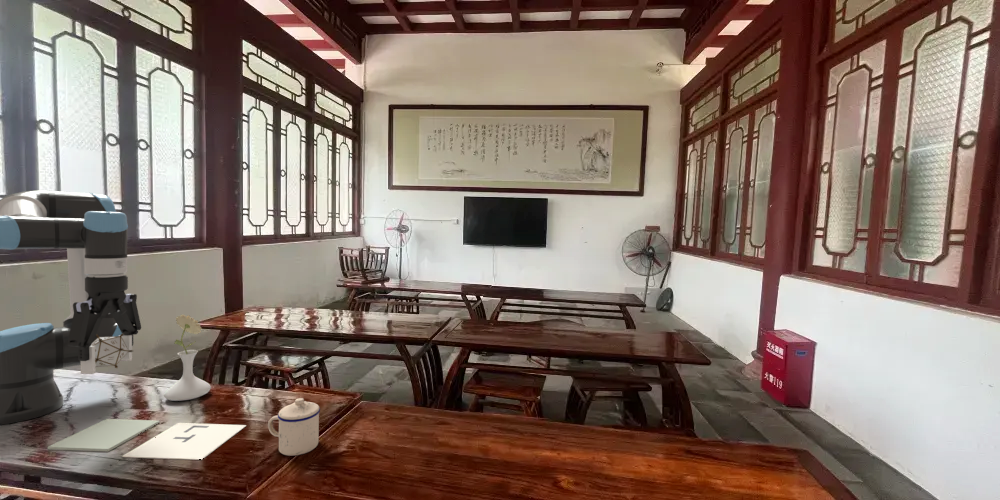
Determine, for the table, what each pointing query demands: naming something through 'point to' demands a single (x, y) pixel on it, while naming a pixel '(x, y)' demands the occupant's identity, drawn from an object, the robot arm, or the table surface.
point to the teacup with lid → (297, 427)
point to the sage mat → (104, 435)
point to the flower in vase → (187, 367)
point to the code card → (186, 441)
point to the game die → (109, 350)
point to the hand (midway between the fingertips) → (107, 366)
